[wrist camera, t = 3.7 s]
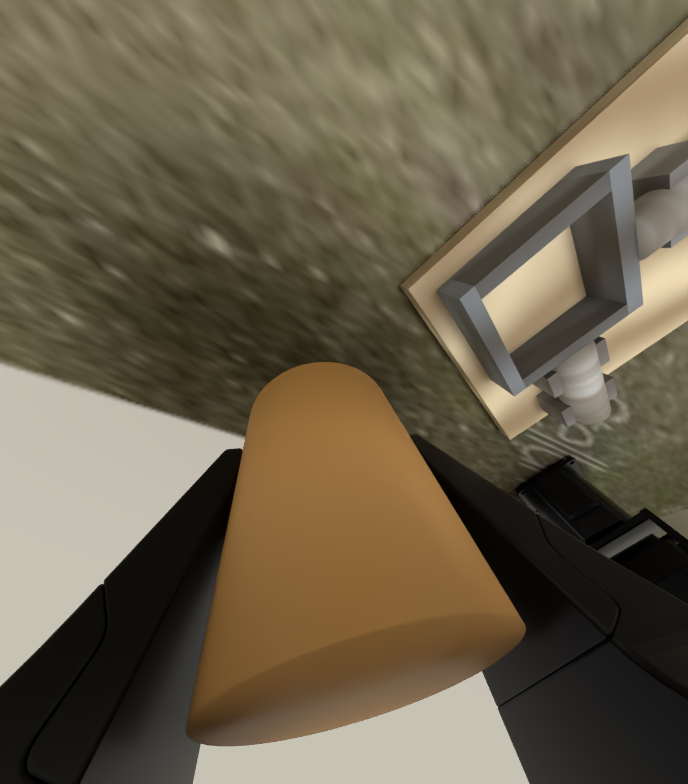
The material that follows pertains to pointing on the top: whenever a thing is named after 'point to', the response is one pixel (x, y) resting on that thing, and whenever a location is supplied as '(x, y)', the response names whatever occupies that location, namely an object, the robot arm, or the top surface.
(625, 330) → the shaft board
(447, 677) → the tan rounded piece
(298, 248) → the top surface
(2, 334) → the top surface
